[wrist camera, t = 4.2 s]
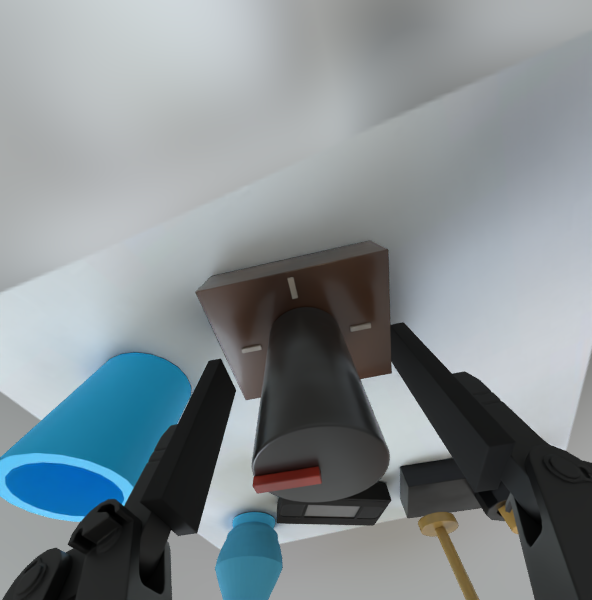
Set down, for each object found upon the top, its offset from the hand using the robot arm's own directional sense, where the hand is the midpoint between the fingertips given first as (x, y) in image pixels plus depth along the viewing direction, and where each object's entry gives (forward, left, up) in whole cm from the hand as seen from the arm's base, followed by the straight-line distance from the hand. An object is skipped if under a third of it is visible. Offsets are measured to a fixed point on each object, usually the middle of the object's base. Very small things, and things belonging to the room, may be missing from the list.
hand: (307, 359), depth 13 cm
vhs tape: (+2, +30, -5) cm, 30 cm away
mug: (+16, +6, -5) cm, 18 cm away
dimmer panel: (0, 0, -5) cm, 5 cm away
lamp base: (-16, +30, -5) cm, 34 cm away
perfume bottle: (+15, +35, -5) cm, 38 cm away
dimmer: (0, 0, -2) cm, 2 cm away
